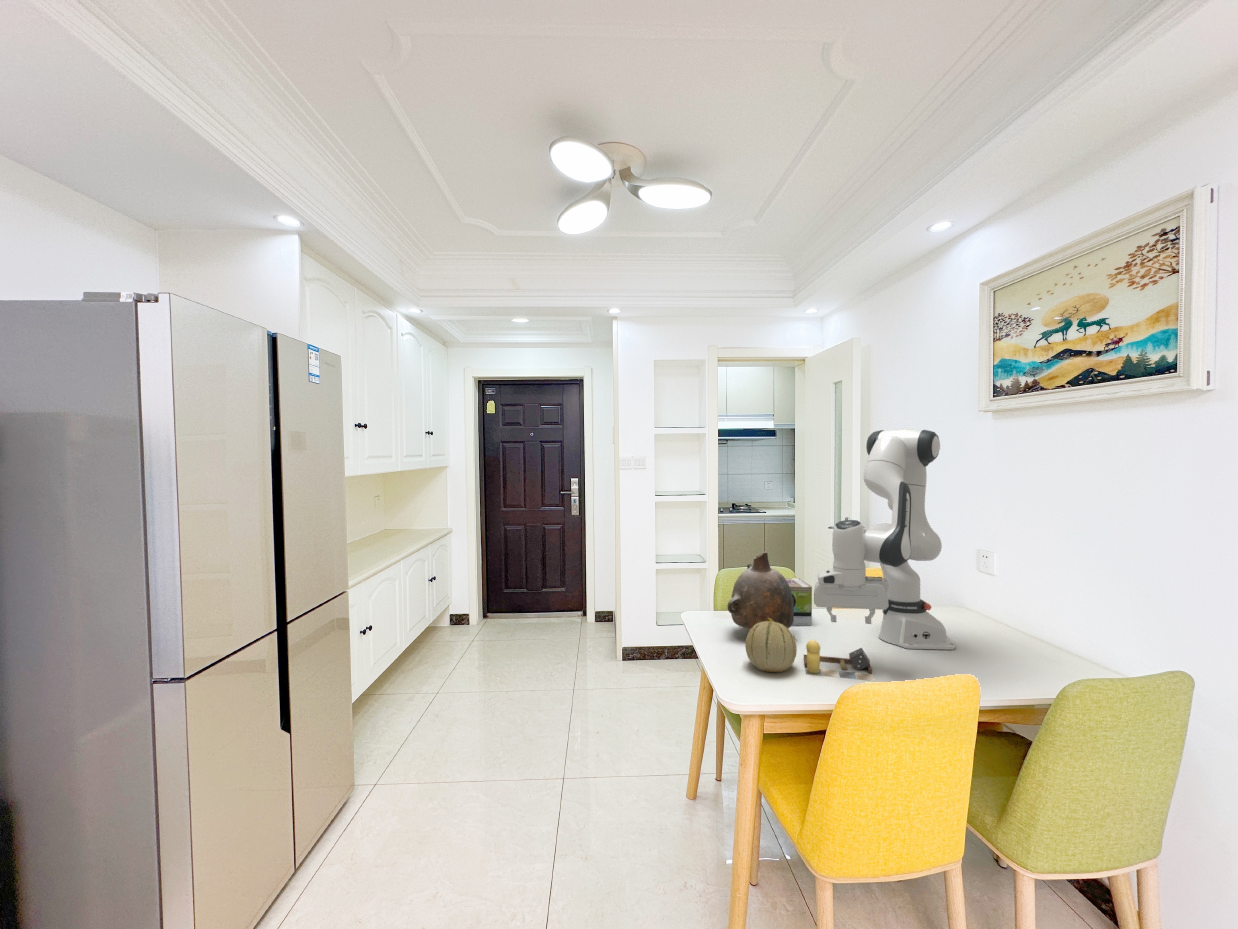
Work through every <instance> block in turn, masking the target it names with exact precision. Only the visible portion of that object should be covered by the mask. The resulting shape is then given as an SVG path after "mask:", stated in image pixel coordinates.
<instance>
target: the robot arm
mask: <svg viewBox="0 0 1238 929" xmlns="http://www.w3.org/2000/svg"><path fill="white" fill-rule="evenodd" d="M940 450H941V441H940V438H939V436H938V434H937V433H936V432H935V431H932V430H927V429H923V430H919V429H909V428H903V429H890V430H883V429H882V430H881V429H880V430H877V431H876V430H875V431H873V432H872V433H871V434H869V436H868V437H867V440H866V454H867V455H868V458H867V460H866V464H865V467H864V471H863V482H864V483H865V486H866V488H868V489H869V490H870V491H871V492H872V493H874V494H875V495H877V496H879V497H880V498H883V499H886V500H887V507H888V509H890V510H891V511H892V513H891V514H892V515H891V523H878V524H872V525H871V526H869V528H866V527H864V526H863V525H862V522H861V521H858V520H854V519H846V520H845V519H844V520H840V521H838V522H836V523H835V524H834V527H833V531H832V541H831V542H832V553H833V563H832V568H829V569H826V570H822V571H819V572H818V573H817V581H816V582H815V585H814V590H813V603H814V605H815V606H816V607H818V608H826V611H827V613H828V615H829V616H830V622H831V623H837V614H833V613H832V611H833V608H834V609H835V608H836V609H859V610H860V609H862V610H869V614H868V616H867V615H865V616H864V619H865V620H864V622H865V624H866V625H871V624H872V618H874V615H876V610H879V611H880V610H881V611H882V613H883V614H882V620H881V625H880V626H881V627H880V630H879V632H878V633H879V634H878V638H879V639H881V640H882V641H884V642H886V643H889V644H893V645H896V646H899V647H902V648H904V649H907V650H908V649H911V650H912V649H913V650H947V651H948V650H950V651H951V650H955V649H956V642H955V641H954V640H953V639H952V638H951V637H949V636H948V634H947V630H946V627H945V625H944V624H943V623H942V622H941V621H940V620H939V619H938V618H936V617H935V616H934V615H933V614H931V613H930V612H929V611H931V610H932V605H931V604H930V603H929V602H926V601H925V600H923V599H921V578H920V576H919V574H918V572H917V571H916V570H914V569H913V568H912V566H911V565H910V564H909V560H911V561H917V562H927V561H929V562H930V561H934V560H936V559H937V558H938V556H940V553H941V551H942V548H943V547H942V546H943V545H942V541H941V537H940V536H939V534H937V533H936V531H934V530H933V528H932V526H931V525H930V523H929V521H928V518H927V515H926V504H925V503H926V490H927V476H928V475H927V467H928V465H929V464H930V463H933V462H934V461H935V460H936V459H937V458H938V456H939V454H940ZM866 562H871V563H877V564H879V565H880V569H881V572H882V576H866V575H867V574H866V572H867V571H866V570H867V569H866V567H867V566H866Z"/></svg>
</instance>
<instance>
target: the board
mask: <svg viewBox="0 0 1238 929" xmlns="http://www.w3.org/2000/svg"><path fill="white" fill-rule="evenodd" d="M820 662H822V663H823V662H824V663H834V664H840V668H841V670H832V669H824V668H820V673H818V674H813V673H809V672H808V671H807V654H803V663H804V664H803V665H804V671H805V675H810V676H819V677H821V676H822V677H832V678H841V679H850V680H851V679H852V680H861V681H868V682H869V681H871V682H875V678H874V676H873V669H872V667H871V664H870V665H869V666H867V667H865V668H866V670H867V672H868V673H866V672H865V673H864V672H855V671H854V672H853V671H846V670H848V668H847V665H853V663H852V661H851V660H850V658H847V657H835V656H826V655H825V656H823V655H820Z"/></svg>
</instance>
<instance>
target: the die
mask: <svg viewBox="0 0 1238 929" xmlns="http://www.w3.org/2000/svg"><path fill="white" fill-rule="evenodd" d="M848 655H849V656H848V657H849V658H848V659H850V660H851V661H852V663H853V664H852V665H853V666H854V668H855V669H856V671H861V670H862V669H865V668H866V667H867V666H869V665H870V666H871V659H870V658H869V657H868V655H867V653H866V652H865V651H864V650H863V648H862V647H860V648H858V649H856V650H853V651H851V652H849V653H848Z"/></svg>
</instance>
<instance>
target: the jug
mask: <svg viewBox="0 0 1238 929" xmlns="http://www.w3.org/2000/svg"><path fill="white" fill-rule="evenodd" d="M746 567H747V568H746V570H743V571H742V572H741V573H740V574H739V576H738V577H737V579H736V580H735V582H734V584H733V589H732V591H731V597H730V599H729V600H728V603H727V610H728V613H730V614H731V618H732V621H733V623H734V624H736V625H737V626H738V627H740V628H743V629H746V630H748V631H750V629H751V628H752V627H753V626H754V625H756V624H757V623H759V622H764V621H769V620H767V618H770V619H772V620H773V621H774V622H777V623H780V624H783V625H784V626H786V627H787V628H788V629H789V628H791V627H793V625H792V624H793V618H794V607H795V605H796V598H795V596H794V595H793V594H792V593H791V590H790V587H789V585H788V582H787V581H786V579H785V578H786V577H784V575H783V574H782V573H781V572H779V570H776V569H774V568H772V567H771V565H770V562H769V556H768V552H766V551H763V552H761V553H759V554H758V555H757V556H755V557H754V558H753V563H747V565H746Z"/></svg>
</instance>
